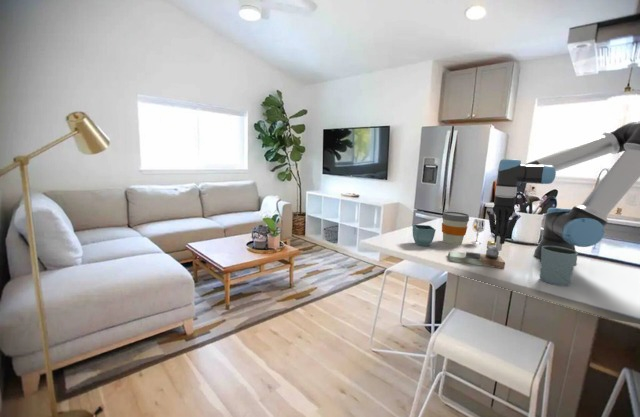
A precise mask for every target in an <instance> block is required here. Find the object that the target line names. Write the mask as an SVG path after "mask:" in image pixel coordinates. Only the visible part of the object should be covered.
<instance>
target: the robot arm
mask: <svg viewBox="0 0 640 417" xmlns="http://www.w3.org/2000/svg"><path fill="white" fill-rule="evenodd" d="M619 153H622V154H621V155H620V157H619V158H618V159H617V160H616V161H615V162H614V164H613V165H612V166H611V168H609V170H608V171H607V172H606V174H605V175H604V176H603V177H602V179H601V180H600V181H599V182H598V184H596V186H595V187H594V189H592V191H591V192H590V193H589V194H588V196H587V197H586V199H584V201H583V202H582V203H580V204H579V205H573V207H572V208H564V207H563V208H562V207H549V208H548V209H547V210H546V213H545V219H544V225H543V230H542V236H541V240H540V241H539V244H538V245H537V246H536V248H535V249H534V253H533V254H534V257H536V258H539V259H540V260H541V248H542V246H558V247H564V248H568V249H572V250H574V251H576V247H579V248H588V247H592V246H595V245H597V244H599V243H600V242H601V241H602V239H603V238H604V236H605V228H604V227H605V226H606V225H608V223H609V220H608V215H609V214H610V213H611V212H612V210H613V209H614V208H615V207H616V206H617V204H618V203H619V202H620V201H621V200H622V199H623V198H624V197H625V195H626V194H627V193H628V192H629V191H630V189H631V188H632V187H633V186H634V185H635V183H636V182H638V180H639V179H640V118H639V119H634V120H633V121H630V122H628V123H625V124H622V125H620V126H617V127H615V128H613V129H610V130H609V131H606V132H604V133H602V135H601V136H599V137H596V138H594V139H590V140H588V141H585V142H582V143H579V144H577V145H574V146H571V147H569V148H566V149H563V150H560V151H558V152H555V153H551V154H549V155H547V156H544V157H540V158H538V159H535V160H532V161H530V162H527V163H522V160H521V159H517V158H515V159H513V158H510V159H509V158H503V159H500V161H499V164H498V167H497V168H498V169H497V178H496V187H495V194H494V195H495V196H494V202H493V207H492V209H490V210H487V211H486V214H487V216H488V222H489V229H490V230H489V232H490V233H491V234H493V236H494V240H493V242H495V243H496V245H495V248H496V251H498V252H500V251H502V249H503V245H504V244H505V243H506V242H505V241H506V237H510V236H511V235H512V233H513V230H514V228H515V226H516V224H517V221H518V220H519V219H520V218H521V215H520V214H518V213H516V209H515V206H516V200H517V199H516V196H517V193H518V192H517V191H518V184H519V183H520V184H523V183H524V184H540V185H550V184H552V183H553V182H554V181H555V178H556V175H557V172H558V171H561V170H565V169H567V168H571V167H573V166H576V165H580V164H581V163H585V162H588V161H591V160H594V159H596V158H599V157H603V156H606V155H608V154H612V155H616V154H619ZM510 218H511V219H510ZM576 252H577V251H576ZM577 261H578V257H577V258H576V262H575V265H576V264H577Z"/></svg>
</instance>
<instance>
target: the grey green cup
mask: <svg viewBox="0 0 640 417" xmlns="http://www.w3.org/2000/svg"><path fill="white" fill-rule="evenodd" d="M578 255H579V252H578V251H574V250H572V249H568V248H564V247H558V246H542V248H541V259H540V270H539V273H540V274H539V279H540V280H541V281H542V282H544V283H546V284H551V285H554V286H559V287H568V286H569V285H570V283H571V280H572V274H573V271H574V267H575V265H576V264H575V262H576V258H577V259H578ZM576 263H577V262H576Z"/></svg>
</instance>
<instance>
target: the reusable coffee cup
mask: <svg viewBox="0 0 640 417" xmlns="http://www.w3.org/2000/svg"><path fill="white" fill-rule="evenodd" d="M441 219H442V222H441V232H442V243H445V244H447V245H453V246H460V245H462V244H463V241H464V238H465V236H466V233H467V229H468V223H469V221H470V215H469V214H468V213H463V212H459V211H443V212H442V217H441Z"/></svg>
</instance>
